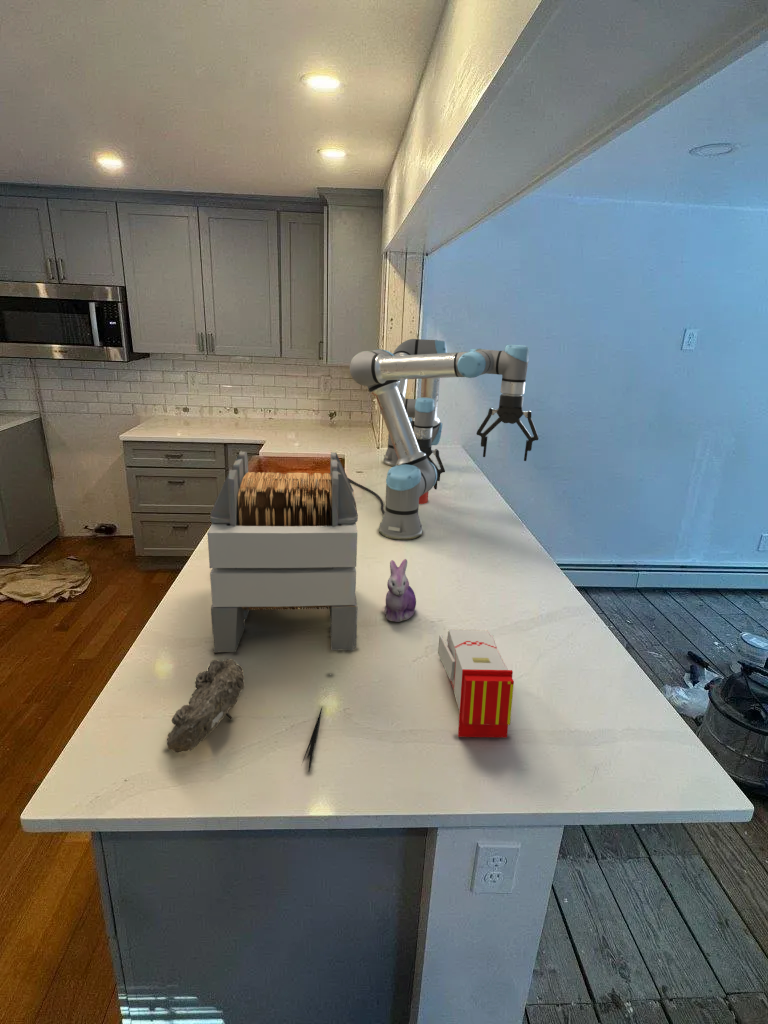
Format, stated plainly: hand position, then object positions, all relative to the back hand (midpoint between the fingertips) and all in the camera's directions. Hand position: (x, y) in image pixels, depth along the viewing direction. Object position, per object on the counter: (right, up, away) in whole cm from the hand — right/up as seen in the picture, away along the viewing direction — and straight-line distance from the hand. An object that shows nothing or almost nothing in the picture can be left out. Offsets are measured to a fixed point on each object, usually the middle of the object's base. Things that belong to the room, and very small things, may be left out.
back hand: (419, 488), depth 233 cm
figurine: (-10, -36, -86) cm, 94 cm away
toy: (+3, -47, -115) cm, 124 cm away
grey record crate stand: (-39, -36, -89) cm, 103 cm away
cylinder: (0, -5, +2) cm, 5 cm away
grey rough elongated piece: (-47, -49, -125) cm, 142 cm away
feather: (-27, -50, -125) cm, 137 cm away
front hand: (+26, +8, -42) cm, 50 cm away
